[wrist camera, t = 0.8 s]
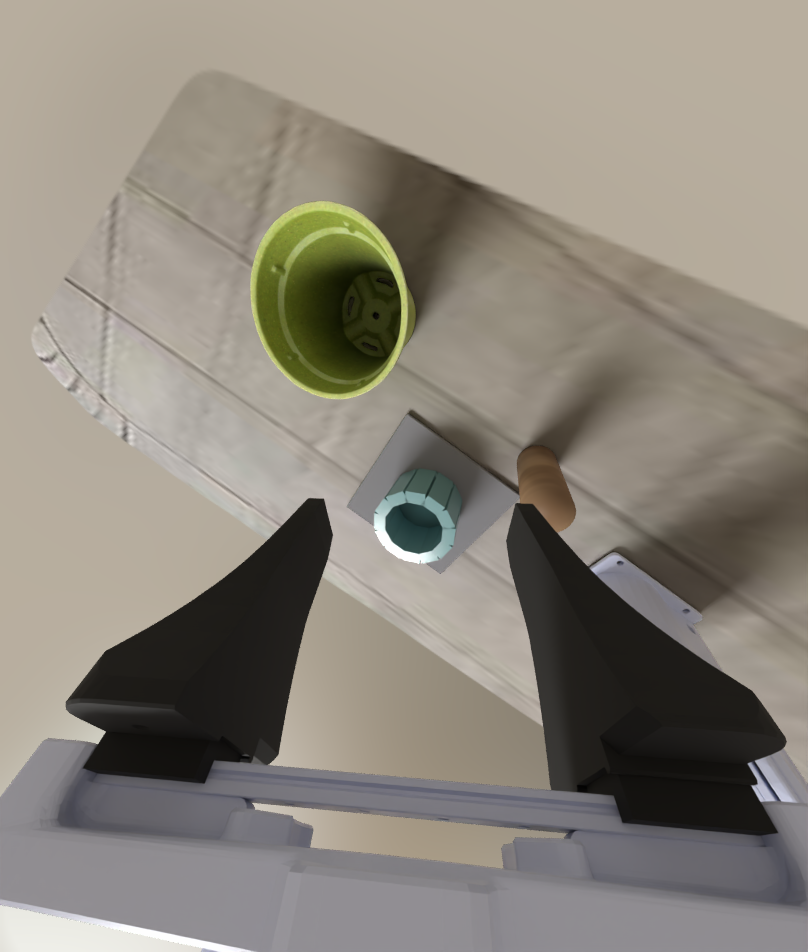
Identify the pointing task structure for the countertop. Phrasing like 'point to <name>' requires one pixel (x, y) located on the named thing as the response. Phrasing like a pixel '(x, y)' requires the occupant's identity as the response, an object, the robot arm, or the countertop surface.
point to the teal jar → (419, 516)
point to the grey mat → (432, 452)
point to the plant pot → (330, 300)
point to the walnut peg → (545, 486)
